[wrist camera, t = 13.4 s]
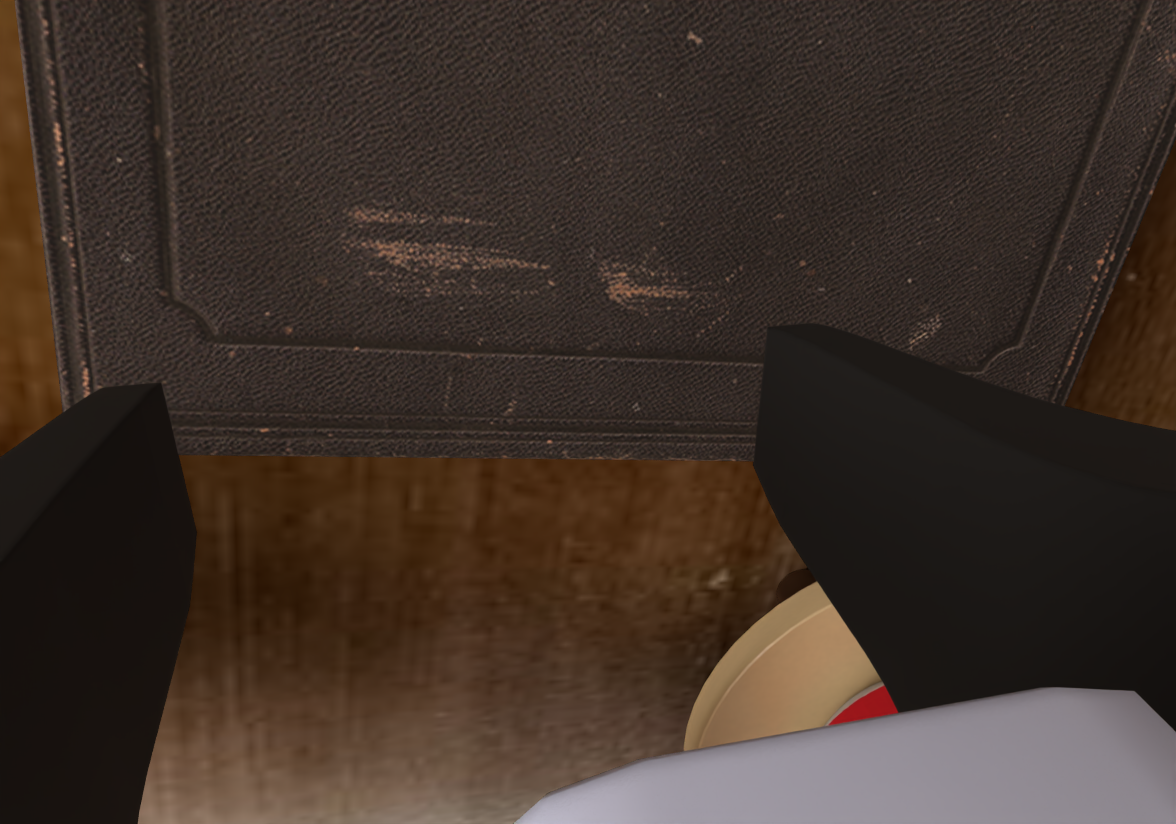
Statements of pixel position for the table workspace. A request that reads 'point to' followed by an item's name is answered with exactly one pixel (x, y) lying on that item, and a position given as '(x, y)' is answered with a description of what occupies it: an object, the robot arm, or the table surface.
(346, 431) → the old brown book
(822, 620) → the tan round coaster
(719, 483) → the table surface
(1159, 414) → the table surface
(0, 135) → the table surface
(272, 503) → the table surface
